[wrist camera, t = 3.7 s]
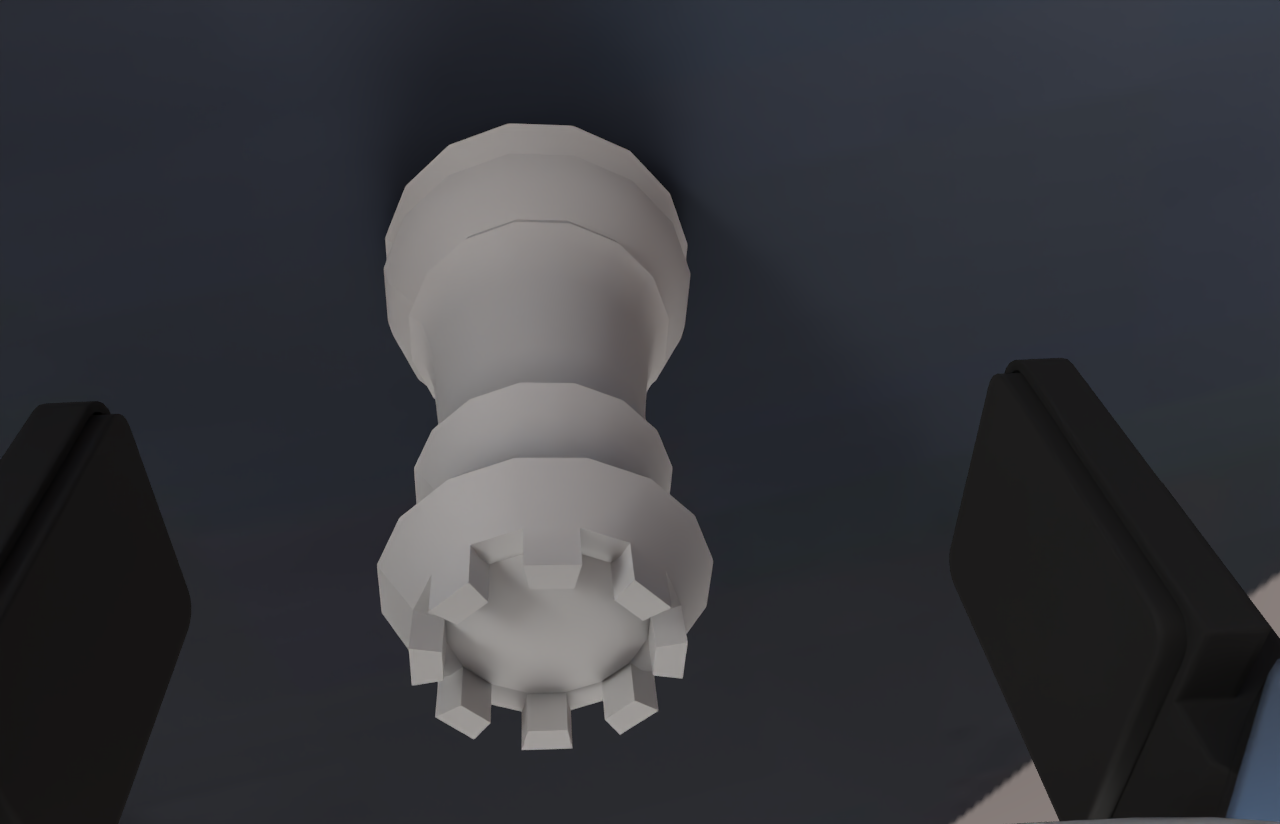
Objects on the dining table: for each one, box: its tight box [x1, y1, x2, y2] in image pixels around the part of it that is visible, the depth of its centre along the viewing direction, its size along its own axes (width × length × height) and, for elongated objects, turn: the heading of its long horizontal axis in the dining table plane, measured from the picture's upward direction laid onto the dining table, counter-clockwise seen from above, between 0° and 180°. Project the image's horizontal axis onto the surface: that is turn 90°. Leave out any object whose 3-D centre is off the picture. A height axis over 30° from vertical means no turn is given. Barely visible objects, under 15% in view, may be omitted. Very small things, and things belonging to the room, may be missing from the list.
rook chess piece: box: [377, 123, 713, 750], centre depth 13 cm, size 4×4×8 cm
